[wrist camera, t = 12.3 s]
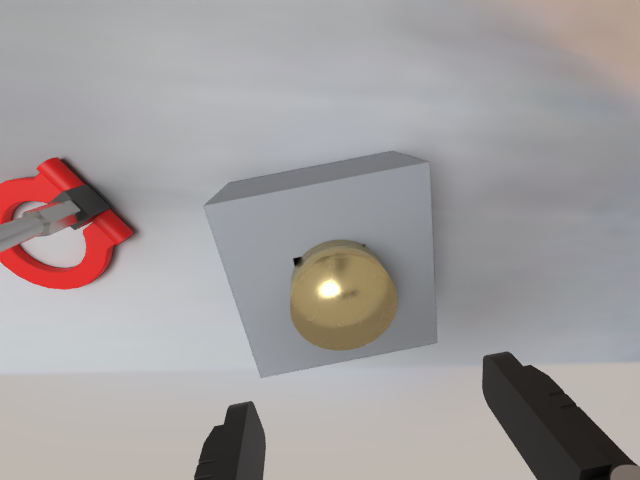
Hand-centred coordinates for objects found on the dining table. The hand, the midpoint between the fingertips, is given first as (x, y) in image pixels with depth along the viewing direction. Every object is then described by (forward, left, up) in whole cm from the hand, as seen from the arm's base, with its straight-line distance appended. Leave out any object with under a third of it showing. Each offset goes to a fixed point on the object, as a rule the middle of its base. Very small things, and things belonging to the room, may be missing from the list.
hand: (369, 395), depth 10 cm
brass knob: (0, 0, -14) cm, 14 cm away
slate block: (0, 0, -15) cm, 15 cm away
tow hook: (-5, -19, -15) cm, 25 cm away
